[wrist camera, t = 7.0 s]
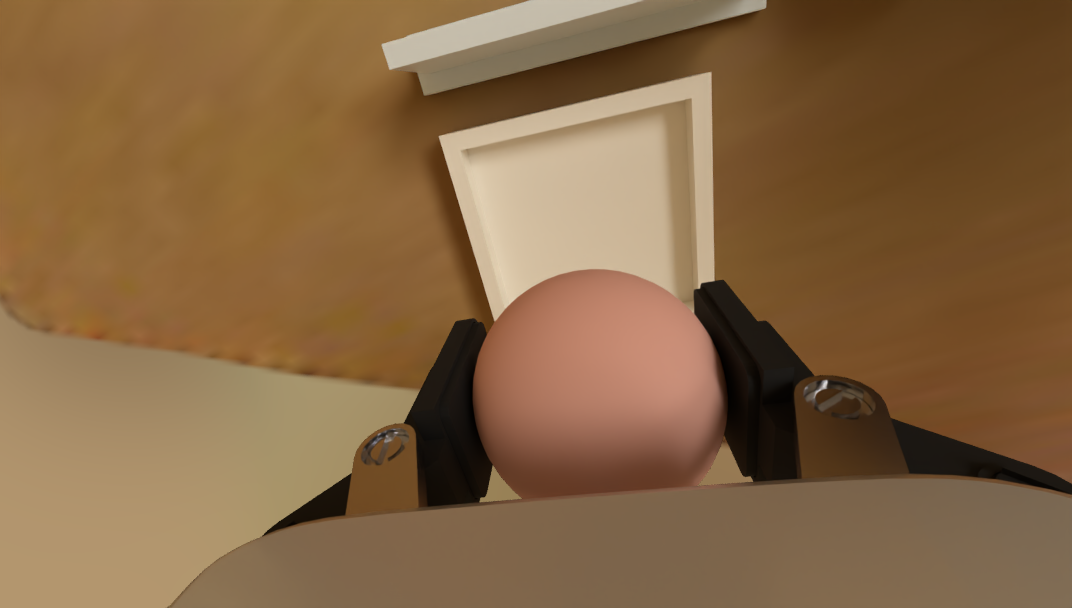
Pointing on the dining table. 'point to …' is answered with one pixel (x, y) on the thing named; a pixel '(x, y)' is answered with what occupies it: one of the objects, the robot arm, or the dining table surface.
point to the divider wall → (544, 36)
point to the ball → (599, 388)
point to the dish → (592, 190)
